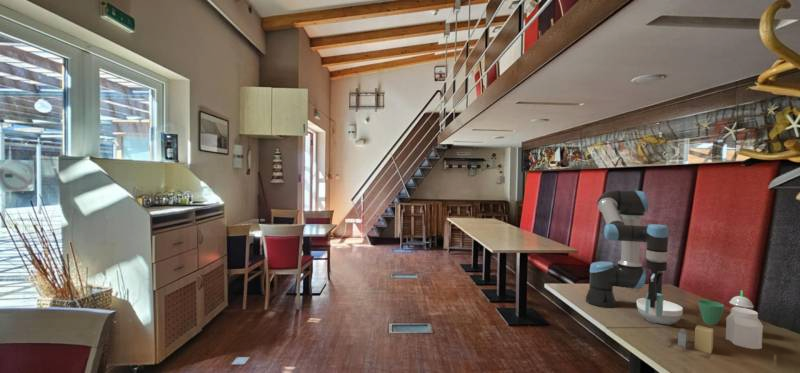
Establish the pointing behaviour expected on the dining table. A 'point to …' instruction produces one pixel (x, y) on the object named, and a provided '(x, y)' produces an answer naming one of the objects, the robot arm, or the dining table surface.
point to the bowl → (668, 316)
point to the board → (689, 349)
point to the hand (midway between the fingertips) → (654, 312)
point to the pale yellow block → (703, 339)
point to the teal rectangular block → (659, 304)
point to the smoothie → (740, 302)
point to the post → (682, 338)
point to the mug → (710, 311)
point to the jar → (744, 328)
